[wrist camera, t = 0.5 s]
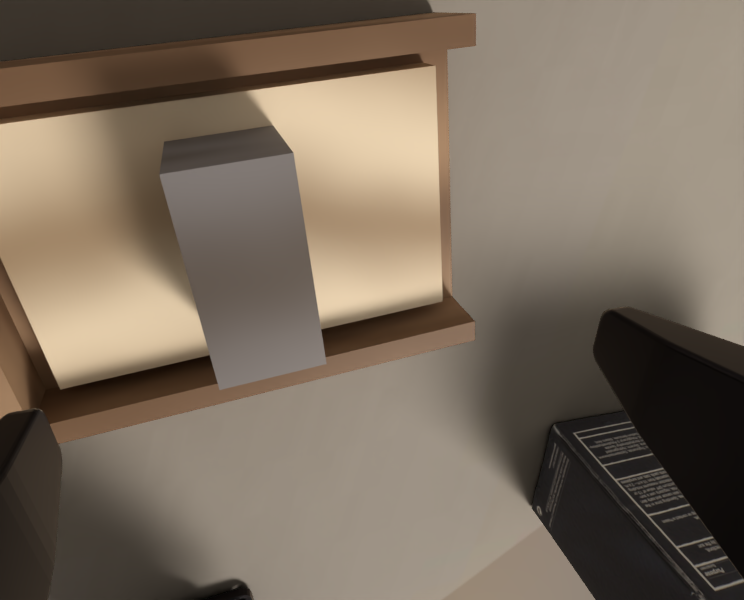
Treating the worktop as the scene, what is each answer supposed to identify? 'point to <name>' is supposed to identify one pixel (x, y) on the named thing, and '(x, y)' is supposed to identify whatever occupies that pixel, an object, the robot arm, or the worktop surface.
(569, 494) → the small box
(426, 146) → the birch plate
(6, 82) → the walnut tray
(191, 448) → the worktop surface
